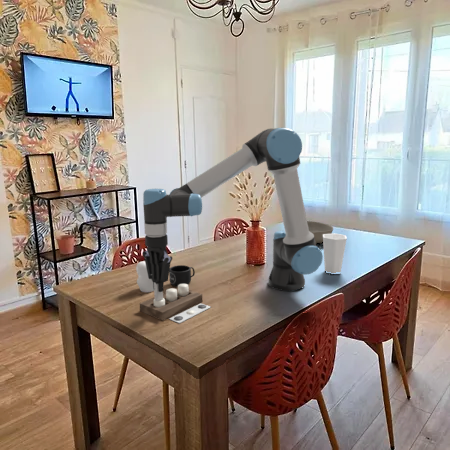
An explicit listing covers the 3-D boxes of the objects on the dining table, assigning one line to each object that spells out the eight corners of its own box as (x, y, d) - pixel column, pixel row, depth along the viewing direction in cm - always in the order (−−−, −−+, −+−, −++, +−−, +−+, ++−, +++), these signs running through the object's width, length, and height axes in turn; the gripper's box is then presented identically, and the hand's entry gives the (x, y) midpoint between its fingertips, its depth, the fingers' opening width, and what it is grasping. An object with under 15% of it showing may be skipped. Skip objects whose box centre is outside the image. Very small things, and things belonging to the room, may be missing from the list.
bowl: (280, 236, 244) (280, 220, 242) (322, 235, 247) (323, 219, 245) (292, 248, 217) (292, 231, 215) (339, 247, 220) (340, 229, 218)
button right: (190, 295, 148) (190, 285, 147) (183, 298, 145) (183, 288, 144) (183, 292, 151) (183, 282, 150) (175, 295, 148) (175, 285, 147)
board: (202, 301, 148) (202, 294, 147) (162, 320, 132) (162, 312, 132) (179, 293, 155) (179, 286, 154) (139, 311, 140) (139, 303, 139)
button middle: (179, 300, 144) (179, 290, 143) (171, 303, 140) (171, 293, 140) (172, 297, 146) (171, 287, 145) (164, 301, 143) (163, 290, 142)
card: (211, 307, 142) (210, 306, 142) (179, 323, 130) (179, 322, 130) (200, 304, 146) (200, 302, 145) (169, 319, 133) (169, 318, 133)
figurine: (138, 286, 163) (137, 259, 160) (157, 286, 164) (155, 258, 161) (136, 293, 156) (134, 264, 153) (155, 292, 157) (154, 264, 154)
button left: (167, 310, 139) (167, 299, 138) (159, 313, 136) (158, 303, 135) (160, 307, 142) (159, 296, 141) (151, 310, 139) (151, 300, 138)
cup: (349, 272, 179) (351, 236, 175) (338, 278, 171) (340, 240, 168) (326, 267, 186) (328, 232, 182) (315, 272, 179) (317, 236, 175)
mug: (177, 290, 159) (177, 273, 157) (165, 284, 166) (164, 268, 164) (201, 283, 167) (200, 267, 165) (188, 277, 173) (188, 262, 172)
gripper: (177, 235, 132) (179, 300, 137) (151, 229, 140) (154, 291, 145) (160, 239, 126) (163, 307, 131) (135, 233, 134) (138, 298, 139)
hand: (158, 299), depth 138 cm, fingers closed
